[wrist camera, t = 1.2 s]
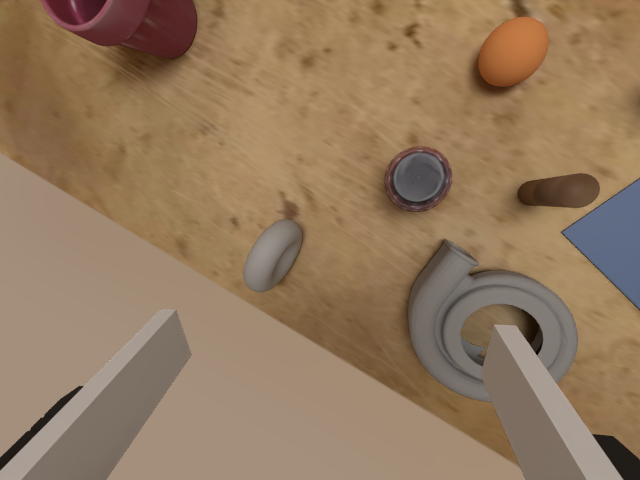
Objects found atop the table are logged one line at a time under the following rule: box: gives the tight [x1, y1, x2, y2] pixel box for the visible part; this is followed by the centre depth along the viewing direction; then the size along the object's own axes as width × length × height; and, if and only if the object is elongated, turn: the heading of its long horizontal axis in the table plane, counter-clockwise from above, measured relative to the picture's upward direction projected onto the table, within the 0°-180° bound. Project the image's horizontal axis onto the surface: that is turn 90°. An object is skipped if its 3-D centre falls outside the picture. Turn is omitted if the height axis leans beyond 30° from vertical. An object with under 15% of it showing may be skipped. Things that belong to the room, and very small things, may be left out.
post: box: [518, 173, 600, 208], centre depth 26 cm, size 3×3×9 cm
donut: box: [243, 219, 302, 292], centre depth 35 cm, size 10×4×10 cm, turn 153°
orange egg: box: [478, 17, 549, 87], centre depth 27 cm, size 6×6×6 cm
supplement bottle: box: [385, 146, 452, 212], centre depth 28 cm, size 6×6×11 cm
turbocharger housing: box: [408, 239, 578, 402], centre depth 31 cm, size 17×6×15 cm
